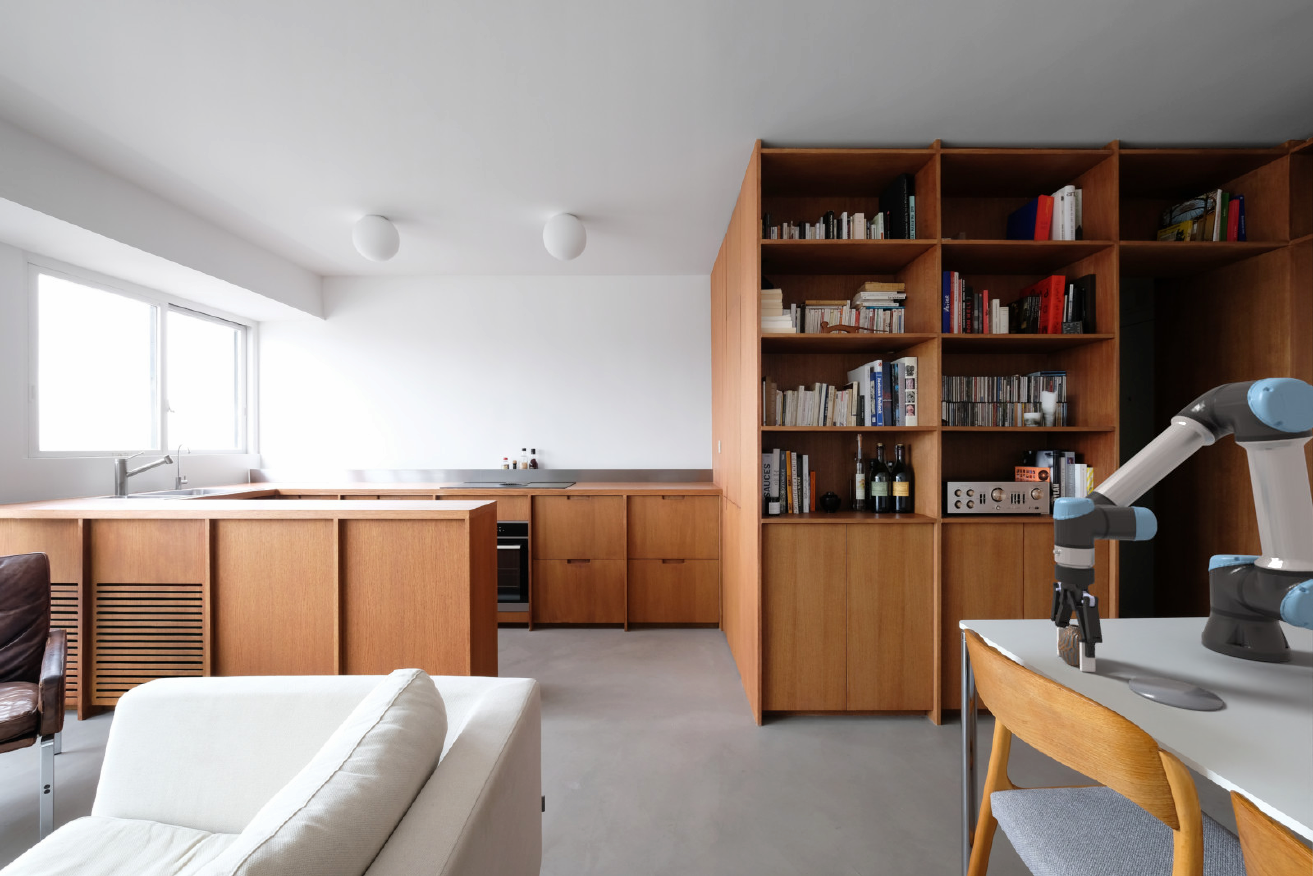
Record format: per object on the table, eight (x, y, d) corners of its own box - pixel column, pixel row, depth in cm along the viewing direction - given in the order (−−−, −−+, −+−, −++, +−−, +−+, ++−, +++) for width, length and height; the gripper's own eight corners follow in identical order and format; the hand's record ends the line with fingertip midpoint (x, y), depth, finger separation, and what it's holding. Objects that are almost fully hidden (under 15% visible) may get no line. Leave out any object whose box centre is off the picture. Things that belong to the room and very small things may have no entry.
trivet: (1185, 681, 121) (1185, 678, 121) (1243, 712, 107) (1243, 709, 107) (1113, 678, 123) (1113, 675, 123) (1160, 708, 110) (1159, 705, 110)
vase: (1101, 670, 128) (1101, 631, 128) (1067, 668, 129) (1066, 629, 129) (1085, 659, 134) (1084, 621, 134) (1052, 657, 136) (1051, 620, 136)
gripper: (1033, 555, 143) (1034, 645, 143) (1083, 575, 122) (1085, 681, 122) (1065, 555, 142) (1067, 647, 142) (1122, 576, 121) (1124, 683, 121)
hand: (1075, 662), depth 132 cm, fingers open, 9 cm apart
